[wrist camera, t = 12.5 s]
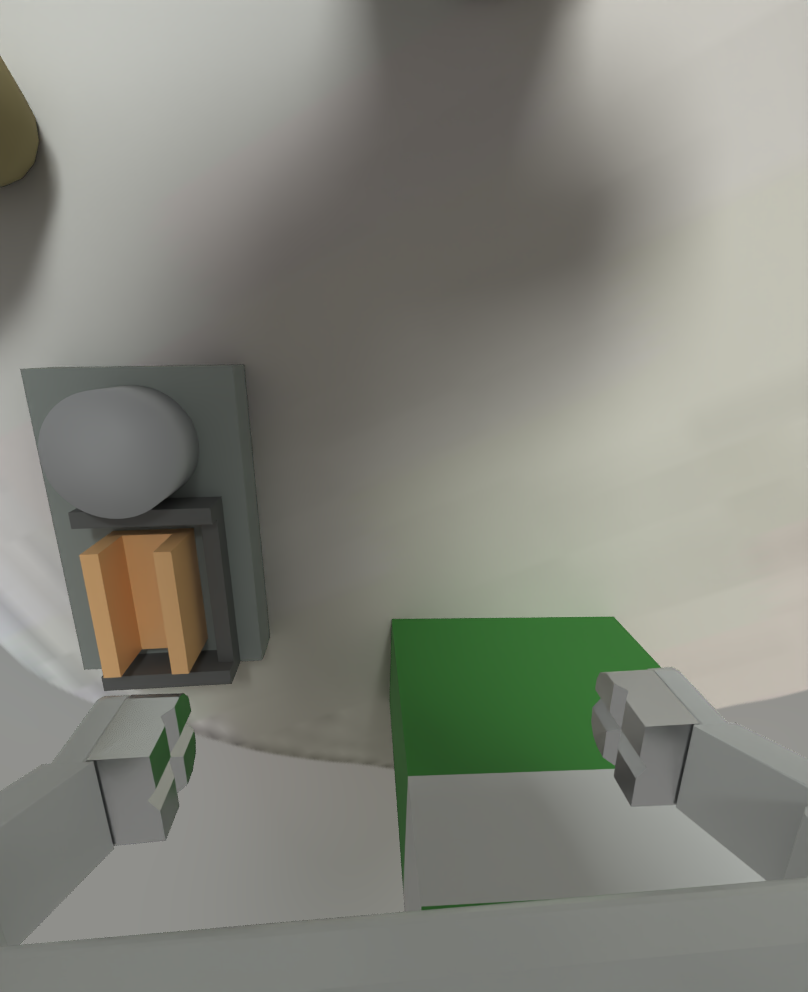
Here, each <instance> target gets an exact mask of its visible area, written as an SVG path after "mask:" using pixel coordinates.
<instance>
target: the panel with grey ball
mask: <svg viewBox="0 0 808 992" xmlns="http://www.w3.org/2000/svg"><path fill="white" fill-rule="evenodd" d="M20 370H21V375H22V379H23V384H24V389H25V393H26V398H27V403H28V407H29V412H30V417H31V422H32V426H33V431H34V436H35V440H36V445H37V450H38V454H39V459H40V464H41V468H42V473H43V478H44V483H45V487H46V492H47V497H48V501H49V506H50V511H51V515H52V520H53V525H54V529H55V534H56V539H57V544H58V548H59V553H60V558H61V562H62V567H63V572H64V576H65V581H66V586H67V590H68V595H69V600H70V605H71V609H72V614H73V619H74V623H75V628H76V633H77V637H78V642H79V647H80V652H81V656H82V661H83V666H84V670H85V669H102V666H101V661H100V656H99V651H98V646H97V641H96V636H95V631H94V626H93V621H92V616H91V611H90V606H89V601H88V596H87V591H86V586H85V581H84V576H83V571H82V566H81V561H80V557H79V555H80V554H81V553H83V552H84V551H85V550H87V549H88V548H90V547H91V546H92V545H94V544H95V543H97V542H98V541H99V540H101V539H102V538H104V537H105V536H106V535H108V534H109V533H111V532H112V531H121V530H151V529H181V528H194V534H195V542H196V549H197V557H198V565H199V572H200V580H201V588H202V595H203V603H204V610H205V618H206V626H207V633H208V639H207V641H206V643H205V645H204V647H203V648H202V650H201V652H200V654H199V656H198V658H197V659H196V661H195V663H194V665H193V667H192V669H191V670H190V672H189V674H172V671H171V665H170V659H169V652H168V648H157V649H142V650H141V651H140V652H139V654H138V655H137V656H136V658H135V659H134V660H133V662H132V663H131V664H130V666H129V667H128V668H127V670H126V671H125V672H124V674H123V675H122V676H121V677H115V678H104V676H102V682H103V687H104V691H110V690H128V689H146V688H164V687H182V686H200V685H218V684H232V681H233V679H234V676H235V674H236V671H237V669H238V666H239V664H240V661H255V660H262V659H263V656H264V653H265V650H266V647H267V644H268V641H269V638H270V633H269V622H268V612H267V601H266V591H265V580H264V570H263V559H262V549H261V538H260V528H259V517H258V506H257V496H256V485H255V475H254V464H253V454H252V443H251V433H250V422H249V412H248V401H247V391H246V380H245V370H244V365H189V366H114V367H48V368H29V369H20Z"/></svg>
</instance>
